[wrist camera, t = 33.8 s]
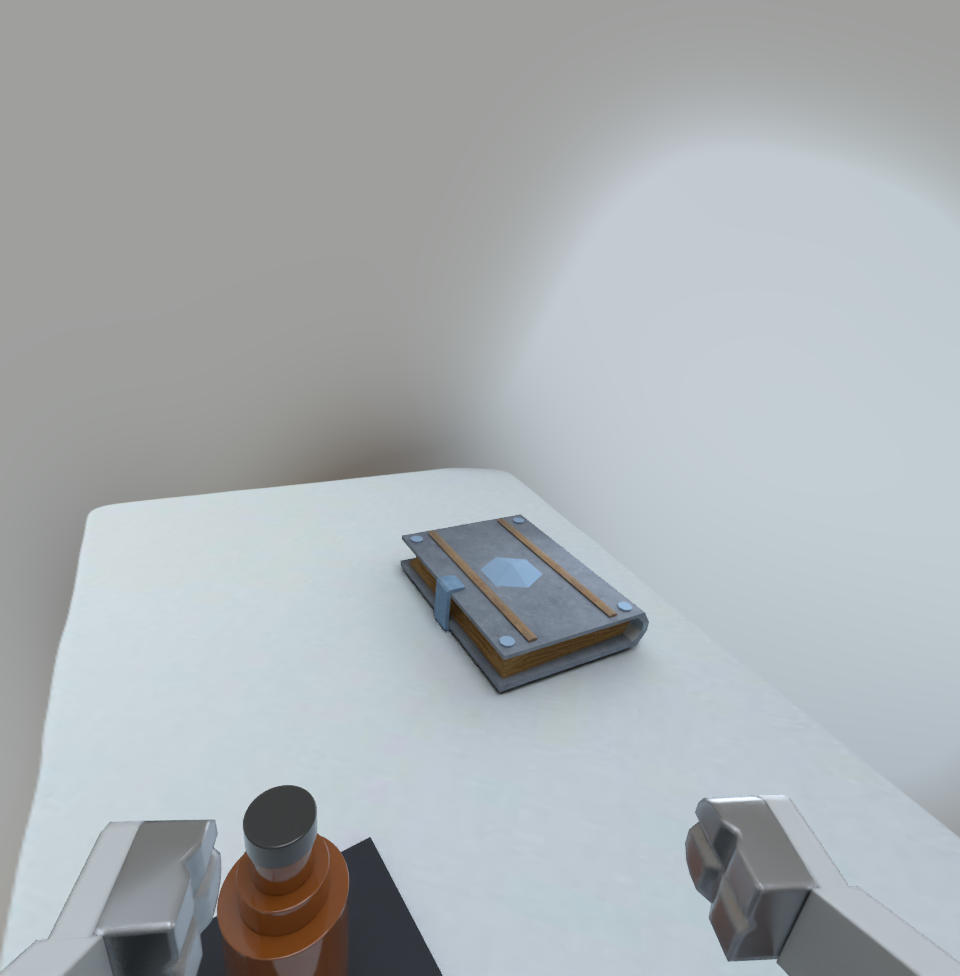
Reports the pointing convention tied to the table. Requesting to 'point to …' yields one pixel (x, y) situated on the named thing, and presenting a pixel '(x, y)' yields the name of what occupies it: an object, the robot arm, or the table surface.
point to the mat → (360, 925)
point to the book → (519, 599)
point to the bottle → (285, 894)
